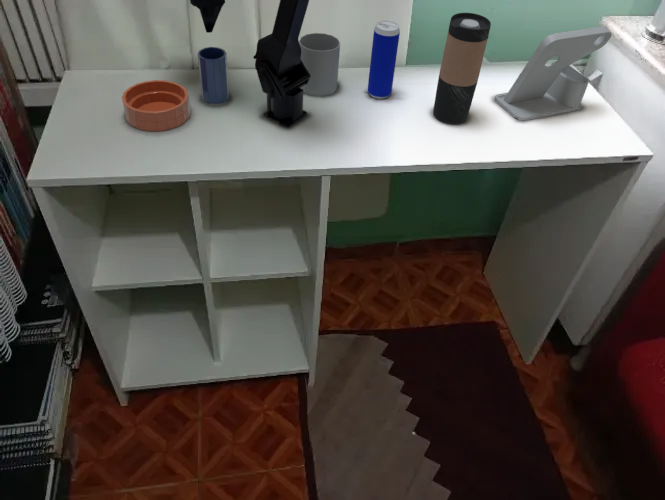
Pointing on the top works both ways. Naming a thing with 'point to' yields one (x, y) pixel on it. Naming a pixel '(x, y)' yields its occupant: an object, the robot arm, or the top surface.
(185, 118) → the bowl
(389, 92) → the beverage can
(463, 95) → the travel mug
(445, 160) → the top surface
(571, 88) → the phone holder
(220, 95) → the tumbler
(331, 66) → the cup
